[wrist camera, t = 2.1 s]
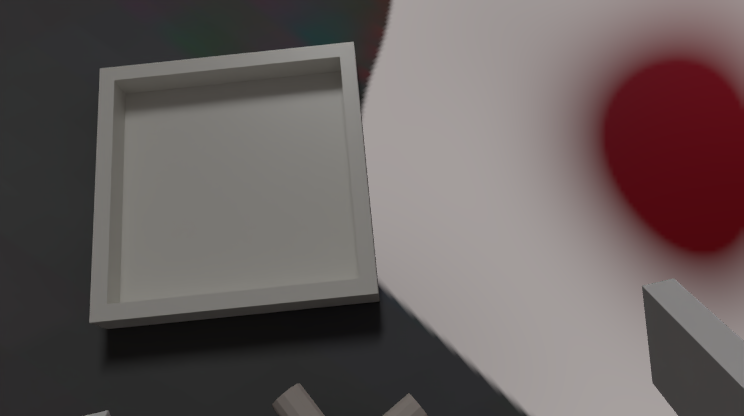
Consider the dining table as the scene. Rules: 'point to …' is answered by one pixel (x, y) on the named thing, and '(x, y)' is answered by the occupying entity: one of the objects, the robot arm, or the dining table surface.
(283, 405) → the pipe connector
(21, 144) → the dining table surface
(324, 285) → the tray
